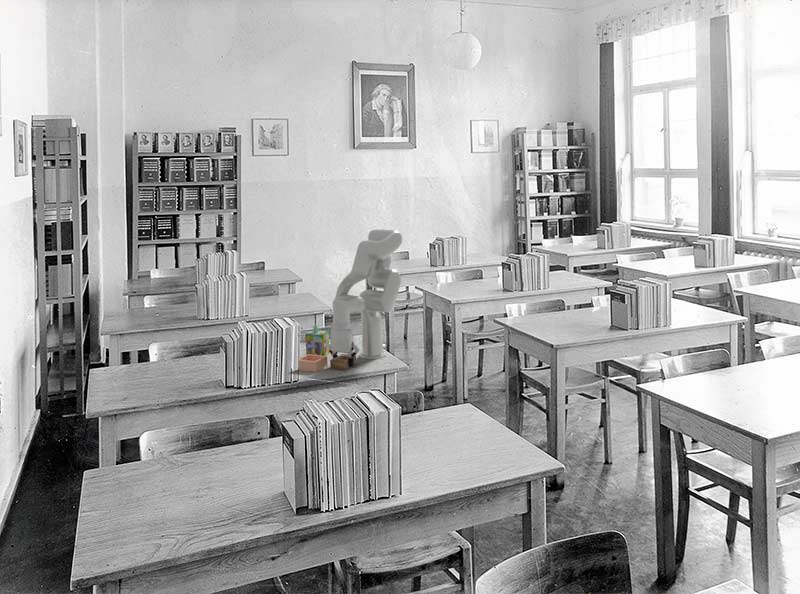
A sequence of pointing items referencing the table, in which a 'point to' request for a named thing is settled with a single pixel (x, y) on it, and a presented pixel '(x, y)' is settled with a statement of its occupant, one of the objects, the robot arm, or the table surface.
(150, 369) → the table surface
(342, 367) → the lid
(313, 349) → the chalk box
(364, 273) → the robot arm
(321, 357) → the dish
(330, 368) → the mat
